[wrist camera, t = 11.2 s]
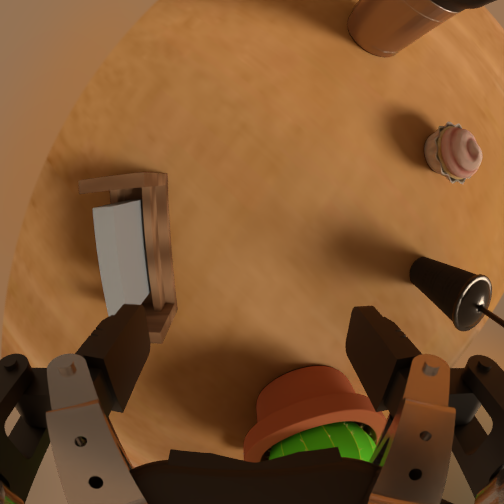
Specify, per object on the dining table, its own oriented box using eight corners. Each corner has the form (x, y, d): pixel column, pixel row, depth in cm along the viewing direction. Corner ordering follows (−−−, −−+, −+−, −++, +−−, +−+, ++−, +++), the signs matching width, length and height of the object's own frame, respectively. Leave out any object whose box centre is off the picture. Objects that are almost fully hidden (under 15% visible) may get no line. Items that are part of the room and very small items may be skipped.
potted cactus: (344, 331, 41) (418, 453, 17) (371, 406, 46) (418, 500, 22) (220, 385, 43) (211, 519, 18) (274, 447, 48) (287, 547, 24)
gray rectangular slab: (129, 200, 34) (92, 208, 24) (146, 198, 34) (112, 206, 24) (138, 286, 37) (109, 319, 27) (153, 287, 37) (128, 320, 27)
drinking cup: (400, 256, 38) (490, 311, 19) (436, 242, 38) (527, 283, 19) (404, 299, 40) (480, 366, 21) (438, 284, 40) (517, 337, 20)
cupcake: (408, 128, 33) (450, 119, 24) (448, 123, 33) (489, 116, 23) (423, 188, 36) (466, 193, 26) (460, 177, 35) (502, 181, 26)
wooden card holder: (113, 179, 34) (78, 180, 25) (167, 173, 34) (143, 172, 25) (127, 308, 39) (103, 339, 30) (177, 309, 39) (162, 343, 30)
